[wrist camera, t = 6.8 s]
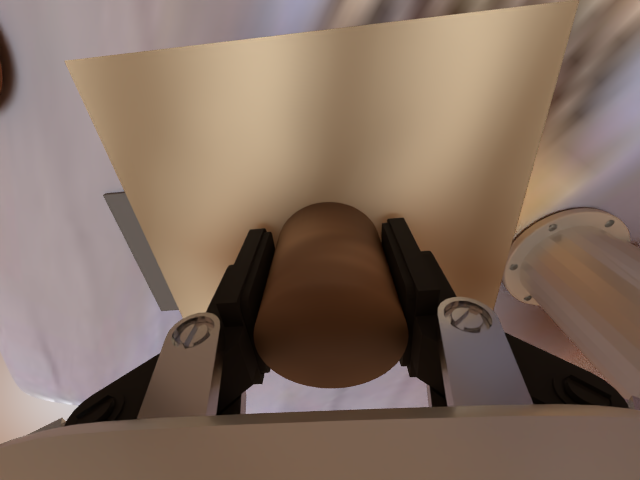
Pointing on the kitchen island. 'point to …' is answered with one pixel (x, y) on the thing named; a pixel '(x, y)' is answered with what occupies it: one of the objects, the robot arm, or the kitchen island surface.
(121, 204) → the rubber mat
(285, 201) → the birch lid
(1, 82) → the cup and saucer
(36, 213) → the kitchen island surface
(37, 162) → the kitchen island surface
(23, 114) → the kitchen island surface
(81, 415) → the robot arm
